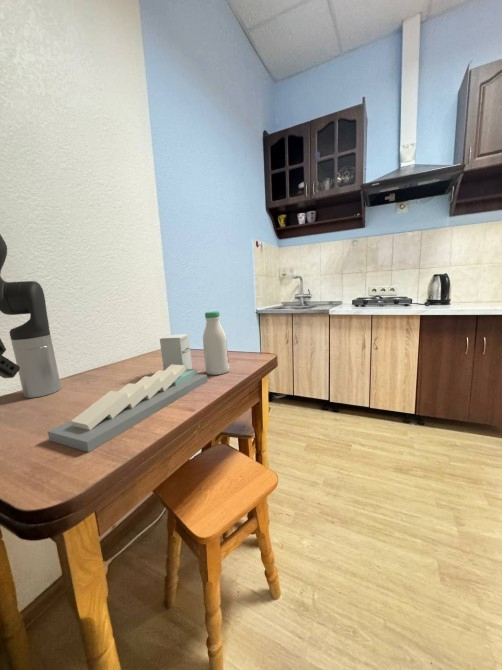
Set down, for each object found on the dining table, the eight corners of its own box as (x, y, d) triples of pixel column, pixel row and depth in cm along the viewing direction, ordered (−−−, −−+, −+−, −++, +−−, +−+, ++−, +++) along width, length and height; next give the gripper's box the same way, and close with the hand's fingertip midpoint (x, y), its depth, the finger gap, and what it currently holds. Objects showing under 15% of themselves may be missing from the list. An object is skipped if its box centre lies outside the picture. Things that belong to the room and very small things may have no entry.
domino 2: (109, 413, 58) (143, 385, 66) (93, 410, 60) (128, 383, 68) (112, 418, 58) (145, 389, 66) (96, 415, 60) (130, 388, 68)
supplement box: (184, 375, 91) (179, 337, 89) (163, 375, 93) (158, 338, 91) (193, 368, 99) (189, 333, 96) (173, 368, 100) (169, 334, 98)
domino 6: (175, 380, 76) (196, 369, 84) (161, 379, 78) (183, 368, 87) (175, 385, 76) (197, 374, 85) (161, 384, 78) (184, 373, 87)
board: (49, 440, 55) (47, 431, 55) (176, 378, 89) (175, 372, 88) (88, 452, 50) (87, 442, 50) (207, 381, 84) (207, 374, 83)
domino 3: (130, 403, 62) (159, 377, 70) (114, 400, 64) (144, 376, 72) (132, 408, 63) (161, 382, 71) (117, 405, 65) (146, 380, 73)
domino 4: (147, 394, 67) (172, 371, 75) (132, 392, 69) (158, 370, 77) (149, 399, 67) (174, 375, 75) (134, 397, 69) (160, 374, 77)
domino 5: (162, 387, 71) (184, 365, 79) (148, 385, 73) (171, 364, 81) (164, 391, 72) (186, 369, 80) (150, 389, 74) (172, 368, 82)
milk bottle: (228, 374, 88) (222, 312, 85) (204, 376, 89) (197, 314, 85) (230, 367, 96) (225, 310, 93) (208, 369, 96) (202, 311, 93)
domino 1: (87, 424, 53) (126, 392, 61) (70, 421, 55) (110, 390, 63) (90, 430, 54) (128, 397, 62) (74, 426, 56) (113, 395, 64)
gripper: (-54, 267, 33) (57, 352, 46) (-119, 281, 37) (0, 356, 50) (-114, 313, 29) (28, 393, 41) (-181, 323, 32) (-32, 394, 45)
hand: (13, 373), depth 45 cm, fingers closed
